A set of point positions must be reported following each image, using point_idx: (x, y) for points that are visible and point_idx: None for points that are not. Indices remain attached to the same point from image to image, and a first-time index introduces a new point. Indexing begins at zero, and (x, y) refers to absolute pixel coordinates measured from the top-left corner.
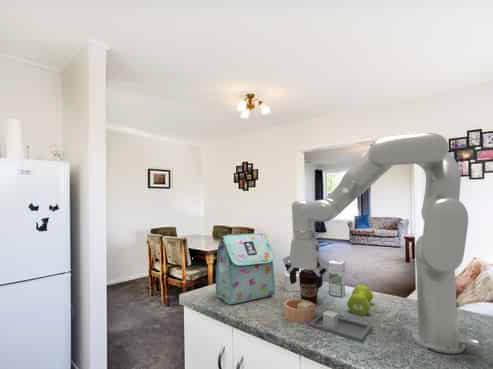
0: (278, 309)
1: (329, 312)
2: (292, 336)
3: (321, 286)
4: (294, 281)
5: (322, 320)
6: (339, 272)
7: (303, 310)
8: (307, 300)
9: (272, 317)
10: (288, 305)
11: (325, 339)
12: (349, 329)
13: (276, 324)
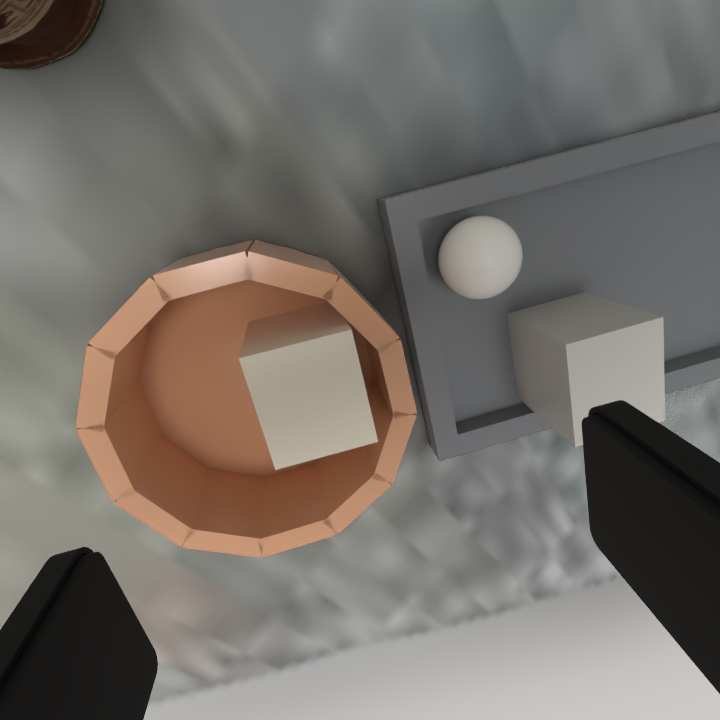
0: (3, 398)
1: (598, 369)
2: (431, 586)
3: (617, 407)
4: (119, 630)
5: (438, 287)
6: None
7: (387, 488)
8: (37, 42)
9: (136, 534)
10: (129, 432)
11: (579, 467)
12: (654, 253)
13: (252, 574)
